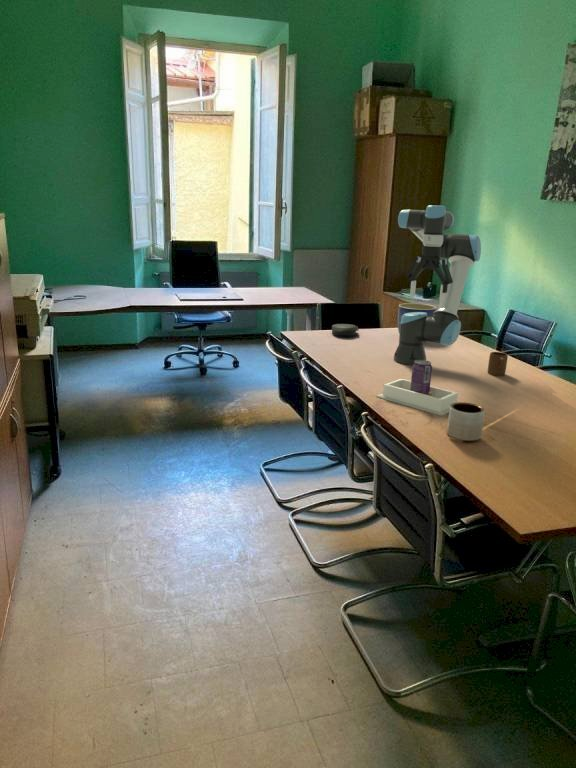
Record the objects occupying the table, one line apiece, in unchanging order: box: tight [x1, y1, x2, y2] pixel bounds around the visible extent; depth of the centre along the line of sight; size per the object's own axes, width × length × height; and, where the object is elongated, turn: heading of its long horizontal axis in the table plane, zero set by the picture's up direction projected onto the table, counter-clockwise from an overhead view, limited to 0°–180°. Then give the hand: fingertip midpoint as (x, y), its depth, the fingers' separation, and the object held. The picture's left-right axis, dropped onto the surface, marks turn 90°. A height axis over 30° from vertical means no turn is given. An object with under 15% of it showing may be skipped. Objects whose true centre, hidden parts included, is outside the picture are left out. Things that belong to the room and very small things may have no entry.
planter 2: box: [446, 401, 485, 442], centre depth 184 cm, size 11×11×10 cm
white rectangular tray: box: [375, 378, 459, 417], centre depth 217 cm, size 28×16×5 cm, turn 47°
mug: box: [487, 351, 509, 377], centre depth 255 cm, size 12×8×9 cm, turn 175°
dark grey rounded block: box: [331, 323, 359, 339], centre depth 320 cm, size 14×18×8 cm
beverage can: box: [410, 359, 433, 394], centre depth 215 cm, size 7×7×12 cm
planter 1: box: [397, 302, 438, 335], centre depth 318 cm, size 21×21×19 cm
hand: (426, 298), depth 236 cm, fingers open, 13 cm apart
